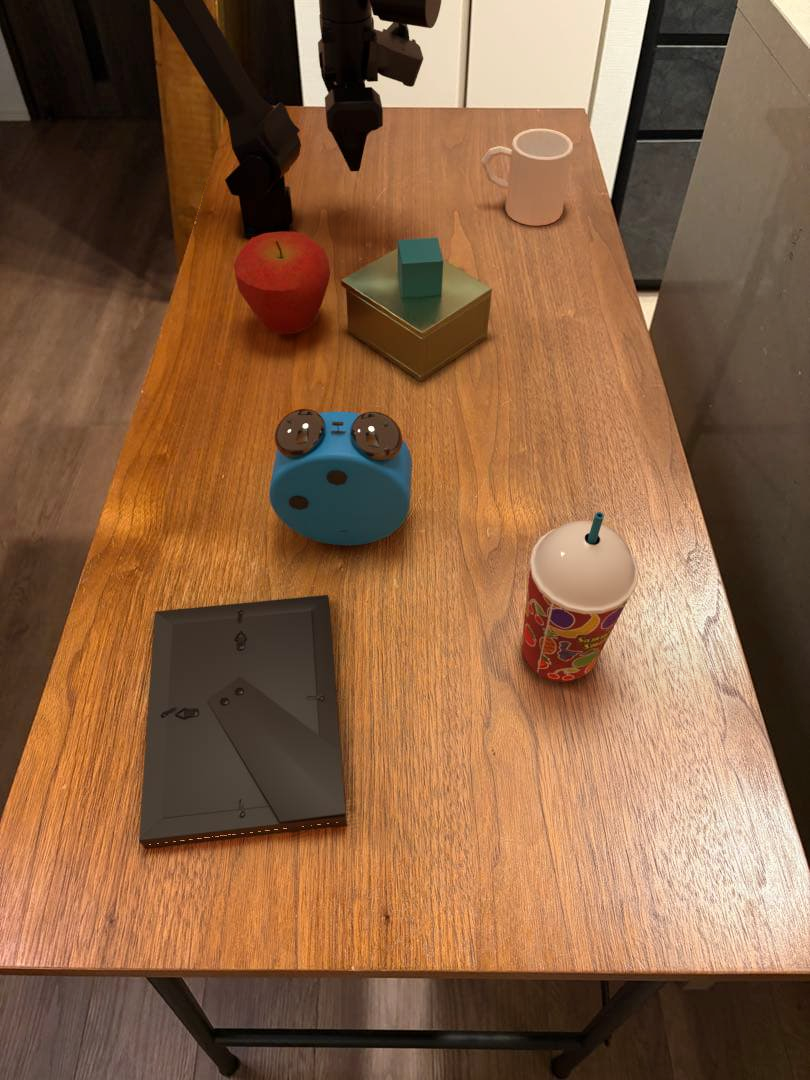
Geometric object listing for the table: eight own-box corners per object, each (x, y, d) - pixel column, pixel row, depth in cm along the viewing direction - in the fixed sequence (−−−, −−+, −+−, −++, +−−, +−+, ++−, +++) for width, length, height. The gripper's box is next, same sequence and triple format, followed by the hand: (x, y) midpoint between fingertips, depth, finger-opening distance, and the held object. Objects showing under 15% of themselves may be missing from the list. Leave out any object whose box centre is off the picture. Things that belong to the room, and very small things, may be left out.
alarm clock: (411, 505, 87) (413, 397, 75) (408, 552, 83) (410, 447, 72) (284, 500, 87) (267, 391, 76) (276, 547, 84) (257, 441, 72)
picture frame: (347, 825, 67) (329, 606, 80) (345, 813, 65) (327, 590, 77) (145, 849, 66) (159, 623, 78) (136, 837, 63) (152, 606, 76)
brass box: (348, 332, 104) (345, 288, 99) (414, 291, 109) (415, 248, 104) (420, 381, 99) (422, 338, 94) (487, 337, 104) (491, 294, 99)
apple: (278, 368, 100) (266, 281, 90) (227, 324, 105) (210, 237, 95) (351, 329, 104) (347, 242, 95) (299, 289, 109) (289, 202, 100)
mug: (478, 191, 124) (484, 124, 116) (561, 196, 123) (572, 129, 115) (476, 222, 119) (482, 154, 111) (562, 227, 118) (573, 160, 110)
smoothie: (579, 713, 73) (630, 581, 57) (494, 667, 76) (521, 529, 60) (618, 642, 77) (675, 501, 62) (536, 601, 80) (571, 456, 64)
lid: (340, 285, 99) (340, 279, 99) (410, 245, 104) (410, 240, 104) (422, 338, 94) (422, 332, 93) (491, 293, 99) (492, 287, 98)
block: (401, 298, 97) (402, 263, 93) (397, 274, 99) (397, 239, 96) (441, 295, 97) (443, 260, 93) (436, 271, 100) (437, 237, 96)
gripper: (429, 46, 88) (425, 187, 100) (408, -23, 99) (407, 112, 111) (322, 51, 87) (331, 193, 99) (313, -19, 98) (322, 116, 111)
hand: (351, 151), depth 105 cm, fingers open, 9 cm apart
